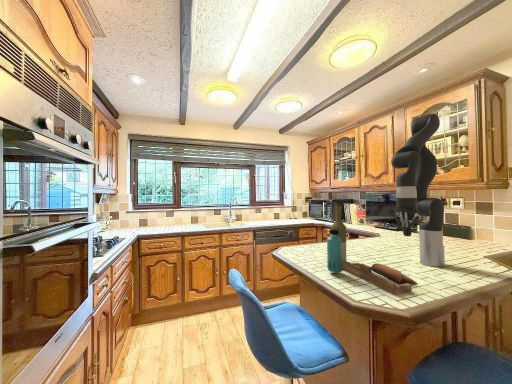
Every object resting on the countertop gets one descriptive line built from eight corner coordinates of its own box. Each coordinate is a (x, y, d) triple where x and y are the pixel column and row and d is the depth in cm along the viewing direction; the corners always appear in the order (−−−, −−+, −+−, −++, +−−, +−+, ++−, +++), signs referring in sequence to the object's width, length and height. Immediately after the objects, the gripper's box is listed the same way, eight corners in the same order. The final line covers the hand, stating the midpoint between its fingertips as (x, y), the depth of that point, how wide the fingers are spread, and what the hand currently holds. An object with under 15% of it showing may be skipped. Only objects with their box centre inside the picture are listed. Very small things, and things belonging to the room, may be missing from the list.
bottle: (349, 266, 107) (348, 205, 107) (341, 269, 103) (340, 206, 103) (337, 263, 112) (336, 205, 113) (328, 266, 108) (327, 206, 109)
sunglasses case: (420, 284, 85) (412, 269, 85) (407, 294, 84) (399, 280, 84) (387, 269, 103) (380, 257, 102) (375, 277, 102) (368, 265, 101)
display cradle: (357, 267, 105) (357, 255, 106) (412, 292, 78) (411, 275, 78) (342, 269, 103) (342, 256, 103) (393, 294, 76) (392, 277, 76)
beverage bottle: (342, 271, 100) (341, 228, 100) (343, 277, 94) (342, 230, 94) (327, 270, 102) (326, 227, 102) (327, 275, 96) (326, 230, 96)
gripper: (427, 196, 91) (429, 238, 90) (399, 196, 103) (400, 233, 103) (413, 197, 89) (414, 239, 88) (386, 197, 102) (387, 234, 101)
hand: (407, 236), depth 96 cm, fingers closed
